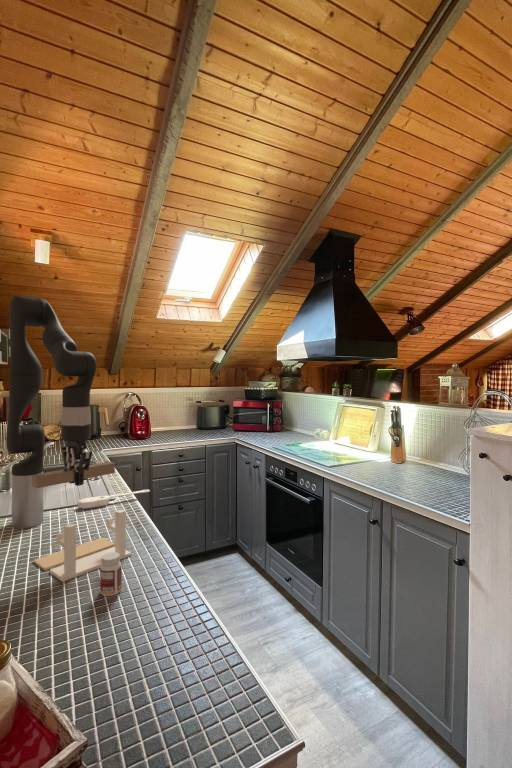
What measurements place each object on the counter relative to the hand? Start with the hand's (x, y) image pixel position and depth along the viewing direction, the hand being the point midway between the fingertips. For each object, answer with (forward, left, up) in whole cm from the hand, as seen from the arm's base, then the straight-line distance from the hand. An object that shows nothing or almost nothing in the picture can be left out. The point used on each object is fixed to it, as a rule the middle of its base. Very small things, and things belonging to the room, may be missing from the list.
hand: (76, 483), depth 112 cm
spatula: (-32, +31, -20) cm, 49 cm away
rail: (0, 0, +1) cm, 1 cm away
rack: (+9, 0, -20) cm, 22 cm away
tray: (0, 0, -20) cm, 20 cm away
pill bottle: (+25, -4, -20) cm, 32 cm away
